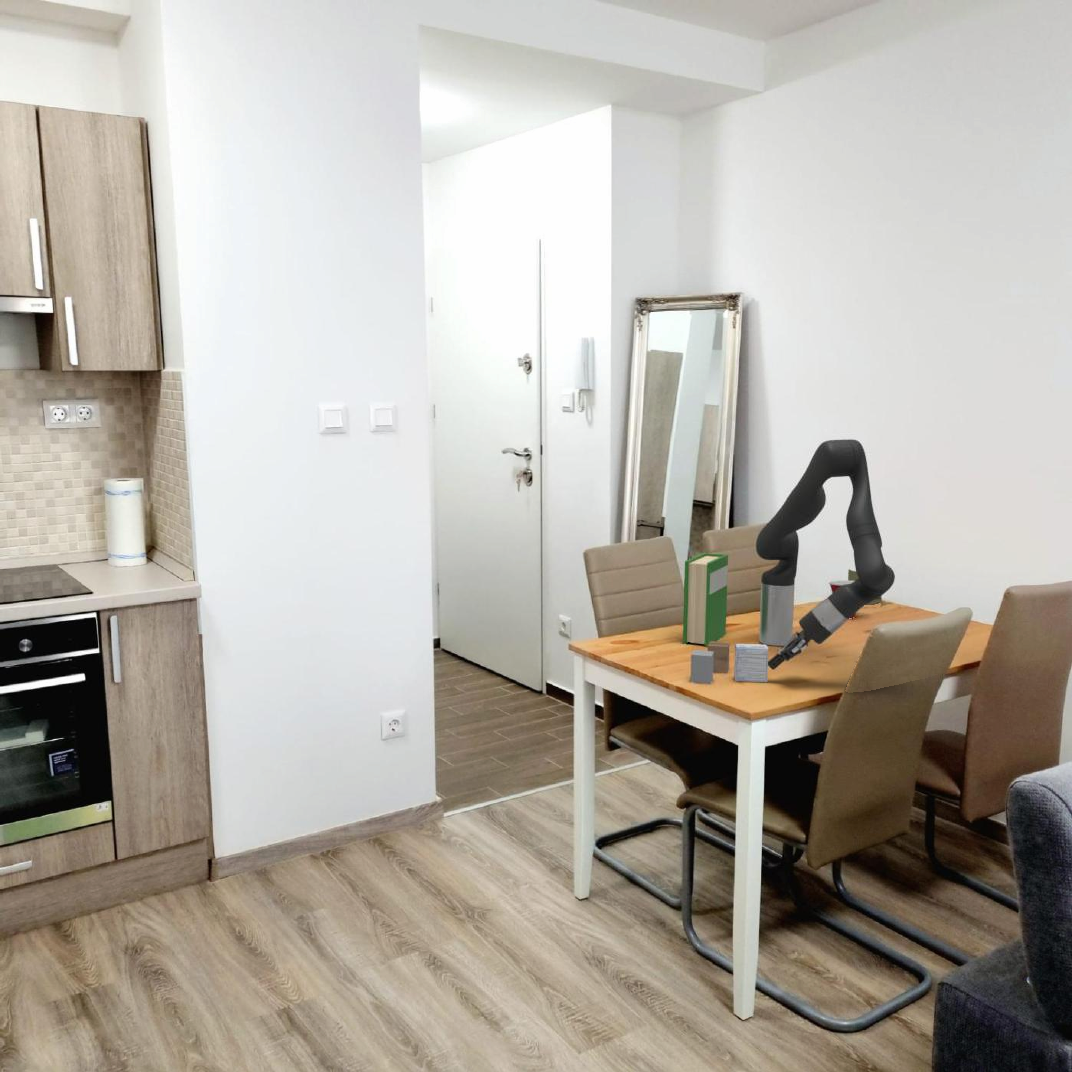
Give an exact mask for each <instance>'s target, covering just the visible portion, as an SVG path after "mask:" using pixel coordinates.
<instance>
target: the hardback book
mask: <svg viewBox="0 0 1072 1072" xmlns="http://www.w3.org/2000/svg"><path fill="white" fill-rule="evenodd" d="M728 566H729V554H721V553H709V552H708V553H707V552H703V553H701V554H698V555H696V556H693V557H692V558H688V559H686V560H685V561H684V579H683V580H684V589H683V590H684V591H683V618H682V619H683V623H682V624H683V625H682V627H683V628H682V645H683V644H686V645H688V644H689V643H688V642H690V643H691V644H699V645H704V648H708V645H709V642H710V641H715V642H719V640H720V638H721V639H722V638H723V637H725V636H726V634H727V630H726V629H727V609H728V608H727V606H728V605H727V602H728V601H727V599H728V576H729V575H728V572H729V567H728ZM724 635H725V636H724ZM687 643H688V644H687Z"/></svg>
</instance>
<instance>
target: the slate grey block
mask: <svg viewBox="0 0 1072 1072" xmlns="http://www.w3.org/2000/svg"><path fill="white" fill-rule="evenodd" d="M713 660H714V652H713V651H708V650H697V649H695V650H694V649H693V650H692V652H691V655H690V682H693V684H702V685H703V684H705V685H712V683H711V682H713V680H714V673H713ZM690 682H689V683H690Z"/></svg>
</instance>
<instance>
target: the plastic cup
mask: <svg viewBox="0 0 1072 1072" xmlns="http://www.w3.org/2000/svg"><path fill="white" fill-rule="evenodd" d="M853 582H854V581H848V580H832V581H829V582H828V584H829V586H830V589H831V590H830V591H831V594H832V593H833V592H835V591H836V590H837V589H838V588H839V587H841V586H842V585H845V584H851V583H853ZM856 613H857V612H856ZM856 613H855V614H854V615H852V616H851V617H850V618H853V617H855V618H856Z"/></svg>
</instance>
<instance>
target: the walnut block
mask: <svg viewBox="0 0 1072 1072" xmlns="http://www.w3.org/2000/svg"><path fill="white" fill-rule="evenodd" d="M730 646H731V645H730V641H729V642H726V641H725V642H724V641H716V642H715V641H710V642H709V645H708V647H707V651H713V652H714V660H713V674H715V673H716V674H725V675H726V674H727V675H728V672H729V669H730Z"/></svg>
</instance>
